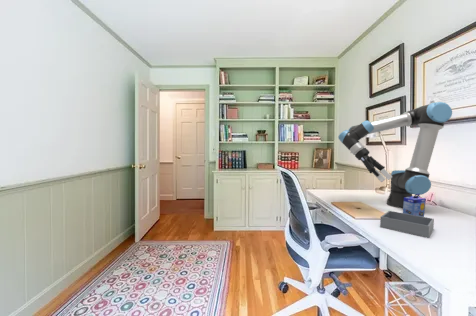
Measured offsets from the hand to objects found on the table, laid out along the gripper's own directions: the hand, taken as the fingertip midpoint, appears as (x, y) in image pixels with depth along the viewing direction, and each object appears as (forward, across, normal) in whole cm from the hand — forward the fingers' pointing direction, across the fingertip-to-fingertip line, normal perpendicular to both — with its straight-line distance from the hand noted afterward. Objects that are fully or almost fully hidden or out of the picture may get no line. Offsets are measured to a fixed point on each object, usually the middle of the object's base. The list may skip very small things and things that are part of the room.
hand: (387, 179), depth 129 cm
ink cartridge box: (+23, 0, -5) cm, 24 cm away
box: (+23, +16, -5) cm, 29 cm away
